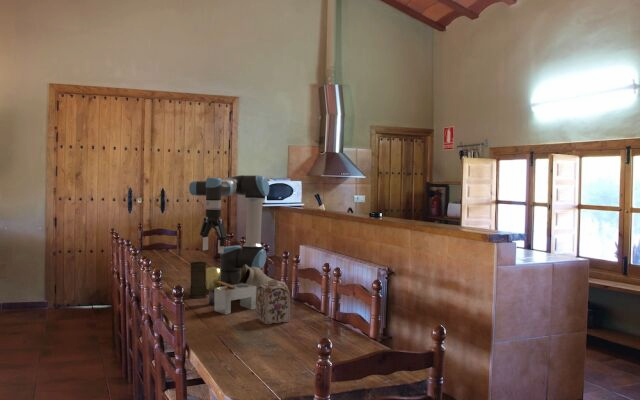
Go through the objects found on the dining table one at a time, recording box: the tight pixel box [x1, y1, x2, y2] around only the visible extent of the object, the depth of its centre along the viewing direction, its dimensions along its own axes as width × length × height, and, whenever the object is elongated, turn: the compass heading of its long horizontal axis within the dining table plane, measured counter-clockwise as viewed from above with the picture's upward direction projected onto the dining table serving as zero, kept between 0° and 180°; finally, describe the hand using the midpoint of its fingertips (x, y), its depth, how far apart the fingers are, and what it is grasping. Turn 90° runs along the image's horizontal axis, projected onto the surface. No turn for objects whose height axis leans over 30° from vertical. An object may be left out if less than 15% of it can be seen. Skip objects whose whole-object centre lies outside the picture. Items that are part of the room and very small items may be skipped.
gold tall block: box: [205, 266, 221, 306], centre depth 276 cm, size 7×7×18 cm
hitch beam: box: [213, 283, 257, 315], centre depth 266 cm, size 18×9×11 cm, turn 135°
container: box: [189, 261, 208, 299], centre depth 293 cm, size 9×9×18 cm
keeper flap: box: [217, 281, 235, 288], centre depth 262 cm, size 7×6×1 cm
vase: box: [237, 264, 286, 300], centre depth 287 cm, size 22×22×28 cm
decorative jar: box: [256, 279, 291, 325], centre depth 247 cm, size 12×12×18 cm
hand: (213, 251), depth 275 cm, fingers open, 13 cm apart
